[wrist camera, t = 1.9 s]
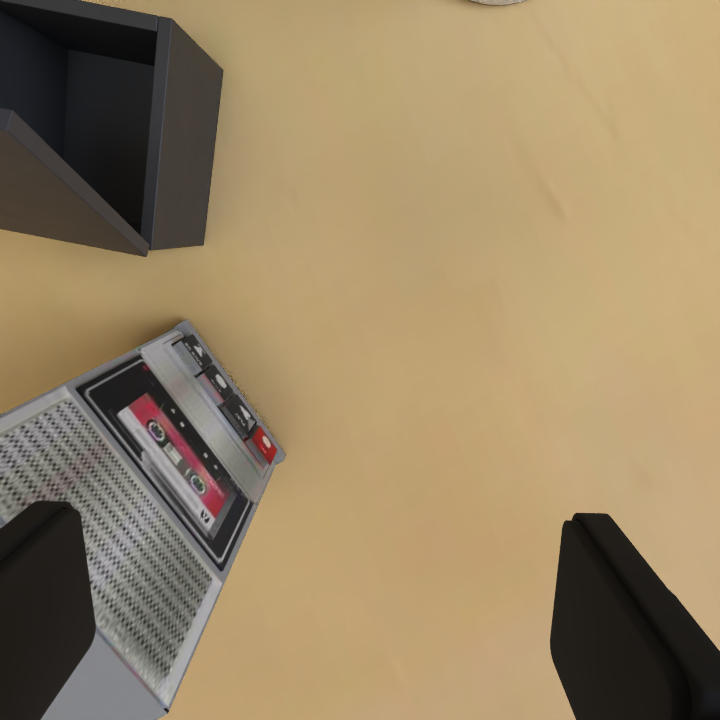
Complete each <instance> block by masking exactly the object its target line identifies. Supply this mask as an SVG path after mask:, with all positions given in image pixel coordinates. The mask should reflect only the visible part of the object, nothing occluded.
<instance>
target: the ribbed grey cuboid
mask: <svg viewBox="0 0 720 720" xmlns="http://www.w3.org/2000/svg"><path fill="white" fill-rule="evenodd" d="M285 456H286V454H285V453H284V451H283V450H282V449H281V447H280V446H279V445H278V443H277V442H276V440H275V439H274V438H273V436H272V435H271V434H270V432H269V431H268V429H267V428H266V427H265V425H264V424H263V423H262V421H261V420H260V418H259V417H258V416H257V414H256V413H255V412H254V410H253V409H252V407H251V406H250V405H249V403H248V402H247V401H246V399H245V398H244V396H243V395H242V394H241V392H240V391H239V390H238V388H237V387H236V385H235V384H234V383H233V381H232V380H231V379H230V377H229V376H228V374H227V373H226V372H225V370H224V369H223V368H222V366H221V365H220V363H219V362H218V361H217V359H216V358H215V357H214V355H213V354H212V352H211V351H210V350H209V348H208V347H207V346H206V344H205V343H204V341H203V340H202V339H201V337H200V336H199V335H198V333H197V332H196V330H195V329H194V328H193V326H192V325H191V323H190V322H189V321H188V319H186V320H184V321H182V322H181V323H179V324H178V325H176V326H175V327H173V328H172V329H170V330H169V331H168V332H166V333H165V334H163V335H161V336H159V337H157V338H155V339H153V340H151V341H149V342H147V343H145V344H143V345H141V346H139V347H137V348H135V349H132V350H130V351H128V352H126V353H124V354H122V355H120V356H118V357H116V358H114V359H112V360H110V361H108V362H106V363H104V364H102V365H100V366H98V367H96V368H94V369H92V370H90V371H88V372H86V373H84V374H82V375H80V376H78V377H76V378H74V379H72V380H70V381H68V382H66V383H64V384H62V385H60V386H58V387H55V388H53V389H51V390H49V391H47V392H45V393H43V394H41V395H39V396H37V397H35V398H33V399H31V400H29V401H27V402H25V403H23V404H21V405H19V406H17V407H15V408H13V409H11V410H9V411H7V412H5V413H3V414H1V415H0V528H2V527H3V526H4V525H5V524H7V523H8V522H9V521H10V520H12V519H13V518H14V517H15V516H17V515H18V514H19V513H20V512H22V511H23V510H24V509H25V508H27V507H28V506H29V505H30V504H32V503H33V502H35V501H67V502H69V503H71V505H72V507H73V509H77V510H78V511H79V512H80V515H81V520H82V527H83V534H84V542H85V549H86V556H87V564H88V571H89V578H90V586H91V593H92V600H93V608H94V615H95V622H96V632H95V637H94V640H93V643H92V645H91V647H90V648H89V650H88V651H87V653H86V654H85V656H84V657H83V659H82V660H81V661H80V663H79V664H78V666H77V667H76V669H75V670H74V672H73V673H72V675H71V676H70V677H69V679H68V680H67V682H66V683H65V685H64V686H63V688H62V689H61V691H60V692H59V693H58V695H57V696H56V698H55V699H54V701H53V702H52V704H51V705H50V707H49V708H48V709H47V711H46V712H45V714H44V715H43V717H42V718H41V720H157V719H159V718H161V717H162V716H164V715H166V714H168V712H169V710H170V707H171V705H172V703H173V700H174V698H175V696H176V693H177V691H178V689H179V686H180V684H181V682H182V680H183V677H184V675H185V673H186V670H187V668H188V666H189V663H190V661H191V659H192V657H193V654H194V652H195V650H196V647H197V645H198V643H199V640H200V638H201V636H202V633H203V631H204V629H205V627H206V624H207V622H208V620H209V617H210V615H211V613H212V610H213V608H214V606H215V604H216V601H217V599H218V597H219V594H220V592H221V590H222V587H223V585H224V583H225V580H226V578H227V576H228V574H229V571H230V569H231V567H232V564H233V562H234V560H235V557H236V555H237V553H238V551H239V548H240V546H241V544H242V541H243V539H244V537H245V534H246V532H247V530H248V528H249V525H250V523H251V521H252V518H253V516H254V514H255V511H256V509H257V507H258V504H259V502H260V500H261V498H262V495H263V493H264V491H265V488H266V486H267V484H268V481H269V479H270V477H271V475H272V472H273V470H274V468H275V465H277V464H279V463H280V462H282V461H284V458H285Z"/></svg>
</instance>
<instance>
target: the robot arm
mask: <svg viewBox="0 0 720 720" xmlns="http://www.w3.org/2000/svg"><path fill="white" fill-rule="evenodd" d="M471 1H475V2H479V3H483V4H488V5H507V4H512V3H518V2H522V1H525V0H471ZM95 632H96V622H95V615H94V608H93V600H92V593H91V586H90V578H89V571H88V564H87V556H86V549H85V542H84V534H83V527H82V520H81V515H80V512H79V511H78V510H77V509H73V507H72V505H71V503H69V502H67V501H35V502H33V503H32V504H30V505H29V506H28V507H27V508H25V509H24V510H23V511H22V512H20V513H19V514H18V515H17V516H15V517H14V518H13V519H12V520H10V521H9V522H8V523H7V524H5V525H4V526H3V527H2V528H0V720H41V718H42V717H43V715H44V714H45V712H46V711H47V709H48V708H49V707H50V705H51V704H52V702H53V701H54V699H55V698H56V696H57V695H58V693H59V692H60V691H61V689H62V688H63V686H64V685H65V683H66V682H67V680H68V679H69V677H70V676H71V675H72V673H73V672H74V670H75V669H76V667H77V666H78V664H79V663H80V661H81V660H82V659H83V657H84V656H85V654H86V653H87V651H88V650H89V648H90V647H91V645H92V643H93V640H94V637H95ZM550 649H551V655H552V659H553V662H554V665H555V668H556V670H557V673H558V675H559V678H560V680H561V683H562V685H563V688H564V690H565V693H566V695H567V698H568V700H569V703H570V705H571V708H572V710H573V713H574V715H575V718H576V720H720V651H719V650H718V649H717V647H716V646H715V645H714V644H713V642H712V641H711V640H710V639H709V637H708V636H707V635H706V634H705V632H704V631H703V630H702V629H701V627H700V626H699V625H698V624H697V622H696V621H695V620H694V619H693V617H692V616H691V615H690V614H689V612H688V611H687V610H686V609H685V607H684V606H683V605H682V604H681V602H680V601H679V600H678V599H677V597H676V596H675V595H674V594H673V593H672V592H671V591H670V590H668V588H667V587H666V586H665V585H664V583H663V582H662V581H661V580H660V578H659V577H658V576H657V575H656V573H655V572H654V571H653V570H652V568H651V567H650V566H649V564H648V563H647V562H646V561H645V559H644V558H643V557H642V556H641V554H640V553H639V552H638V551H637V549H636V548H635V547H634V546H633V544H632V543H631V542H630V541H629V539H628V538H627V537H626V536H625V534H624V533H623V532H622V530H621V529H620V528H619V527H618V525H617V524H616V523H615V522H614V520H613V519H612V518H611V517H610V516H609V515H608V514H601V513H576V514H574V516H573V518H572V521H567V520H566V521H565V522H564V524H563V528H562V536H561V545H560V554H559V563H558V572H557V582H556V591H555V600H554V609H553V618H552V627H551V636H550Z"/></svg>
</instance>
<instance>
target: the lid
mask: <svg viewBox="0 0 720 720" xmlns="http://www.w3.org/2000/svg"><path fill="white" fill-rule="evenodd" d="M0 229H3V230H8V231H14V232H19V233H24V234H29V235H34V236H40V237H45V238H50V239H55V240H60V241H65V242H71V243H76V244H81V245H86V246H91V247H97V248H102V249H107V250H112V251H117V252H123V253H128V254H133V255H138V256H143V257H147V254H148V250H149V246H150V245H149V244H148V243H147V242H146V241H145V240H144V239H143V238H142V237H141V236H140V235H139V234H138V233H137V232H136V231H135V230H134V229H133V228H132V227H131V226H130V225H129V224H128V223H127V222H126V221H125V220H124V219H123V218H122V217H121V216H120V215H119V214H118V213H117V212H116V211H115V210H114V209H113V208H112V207H111V206H110V205H109V204H108V203H107V202H106V201H105V200H104V199H103V198H102V197H101V196H100V195H99V194H97V193H96V192H95V191H94V190H93V189H92V188H91V187H90V186H89V185H88V184H87V183H86V182H85V181H84V180H83V179H82V178H81V177H80V176H79V175H78V174H77V173H76V172H75V171H74V170H73V169H72V168H71V167H70V166H69V165H68V164H67V163H66V162H65V161H64V160H63V159H62V158H61V157H60V156H59V155H58V154H57V153H56V152H55V151H54V150H53V149H52V148H51V147H50V146H49V145H48V144H47V143H46V142H45V141H44V140H43V139H42V138H41V137H40V136H38V135H37V134H36V133H35V132H34V131H33V130H32V129H31V128H30V127H29V126H28V125H27V124H26V123H25V122H24V121H23V120H22V119H21V118H20V117H19V116H18V115H17V114H16V113H15V112H14V111H13V110H9V109H3V108H0Z"/></svg>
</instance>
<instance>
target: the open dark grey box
mask: <svg viewBox="0 0 720 720" xmlns="http://www.w3.org/2000/svg"><path fill="white" fill-rule="evenodd" d="M222 78H223V69H222V68H221V67H219V66H218V65H217V64H216V63H215V62H214V61H213V60H212V59H211V57H210V56H209V55H208V54H207V53H206V52H205V51H204V50H203V49H202V48H201V47H200V46H199V45H198V44H197V43H196V42H195V41H194V40H193V39H192V38H191V37H190V36H189V35H188V34H187V33H186V32H185V31H184V30H183V29H182V28H181V27H180V26H179V25H178V24H177V23H176V22H175V21H174V20H173V19H171V18H166V17H161V16H160V17H158V16H156V15H151V14H146V13H141V12H136V11H131V10H126V9H121V8H115V7H110V6H105V5H100V4H95V3H90V2H85V1H80V0H0V108H3V109H9V110H13V111H14V112H15V113H16V114H17V115H18V116H19V117H20V118H21V119H22V120H23V121H24V122H25V123H26V124H27V125H28V126H29V127H30V128H31V129H32V130H33V131H34V132H35V133H36V134H37V135H38V136H40V137H41V138H42V139H43V140H44V141H45V142H46V143H47V144H48V145H49V146H50V147H51V148H52V149H53V150H54V151H55V152H56V153H57V154H58V155H59V156H60V157H61V158H62V159H63V160H64V161H65V162H66V163H67V164H68V165H69V166H70V167H71V168H72V169H73V170H74V171H75V172H76V173H77V174H78V175H79V176H80V177H81V178H82V179H83V180H84V181H85V182H86V183H87V184H88V185H89V186H90V187H91V188H92V189H93V190H94V191H95V192H96V193H97V194H99V195H100V196H101V197H102V198H103V199H104V200H105V201H106V202H107V203H108V204H109V205H110V206H111V207H112V208H113V209H114V210H115V211H116V212H117V213H118V214H119V215H120V216H121V217H122V218H123V219H124V220H125V221H126V222H127V223H128V224H129V225H130V226H131V227H132V228H133V229H134V230H135V231H136V232H137V233H138V234H139V235H140V236H141V237H142V238H143V239H144V240H145V241H146V242H147V243H148V244H149V245H150V246H149V250H160V249H170V248H180V247H190V246H201V245H204V237H205V228H206V219H207V211H208V202H209V193H210V184H211V175H212V166H213V157H214V149H215V140H216V131H217V122H218V113H219V104H220V96H221V87H222Z"/></svg>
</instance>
